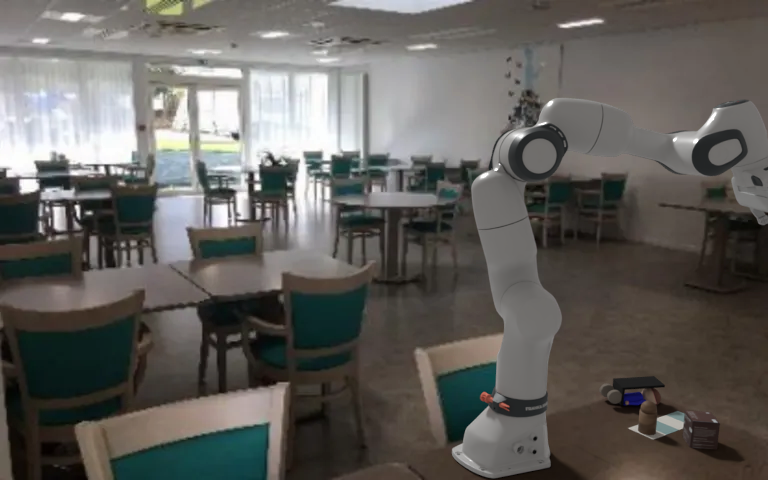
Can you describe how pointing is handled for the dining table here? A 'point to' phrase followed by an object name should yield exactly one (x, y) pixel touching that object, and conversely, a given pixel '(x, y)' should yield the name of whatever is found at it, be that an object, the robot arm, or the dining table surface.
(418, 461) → the dining table surface
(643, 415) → the brown rounded cylinder
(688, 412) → the box
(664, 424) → the board
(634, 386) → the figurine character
